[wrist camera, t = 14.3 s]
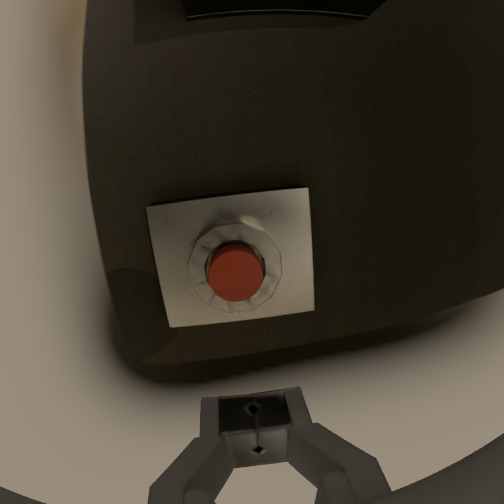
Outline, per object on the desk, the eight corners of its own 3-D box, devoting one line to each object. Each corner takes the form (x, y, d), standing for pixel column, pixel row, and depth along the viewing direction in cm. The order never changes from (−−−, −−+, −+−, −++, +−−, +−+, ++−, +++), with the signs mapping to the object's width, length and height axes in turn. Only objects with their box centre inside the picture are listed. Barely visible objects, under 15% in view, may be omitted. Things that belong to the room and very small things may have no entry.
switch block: (173, 315, 26) (166, 339, 23) (152, 203, 24) (138, 210, 20) (308, 299, 27) (320, 320, 23) (301, 184, 24) (315, 188, 20)
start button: (213, 294, 22) (212, 305, 20) (205, 246, 21) (204, 254, 19) (262, 288, 22) (265, 298, 21) (257, 240, 21) (260, 247, 20)
